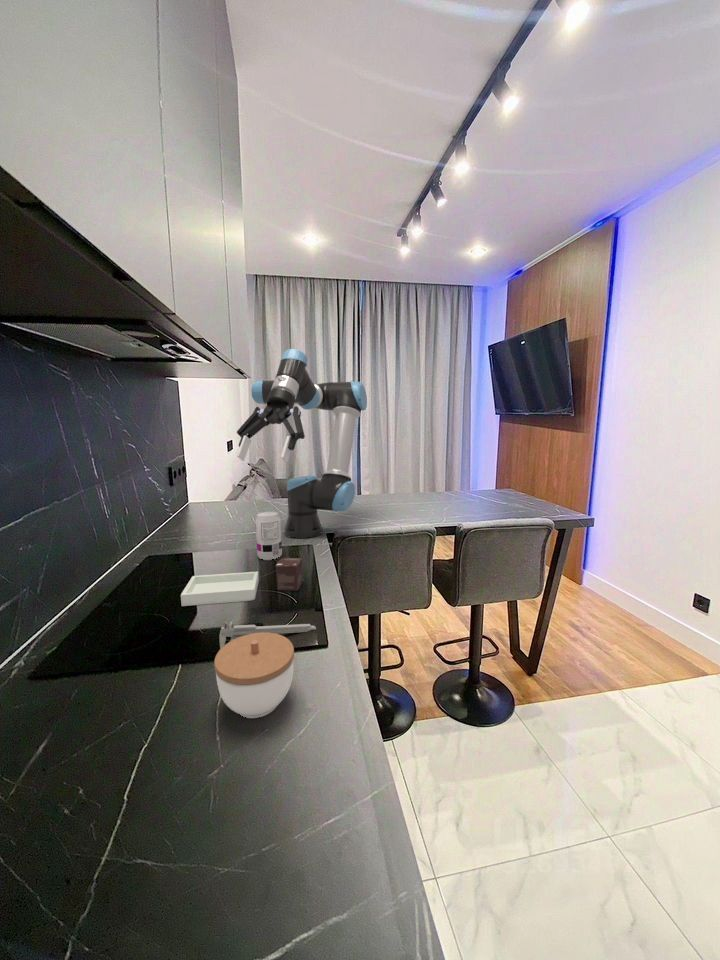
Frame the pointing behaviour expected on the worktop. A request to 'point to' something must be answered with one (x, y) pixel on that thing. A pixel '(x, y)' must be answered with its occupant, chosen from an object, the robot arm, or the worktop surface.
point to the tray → (220, 588)
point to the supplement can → (268, 535)
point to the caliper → (259, 630)
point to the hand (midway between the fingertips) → (261, 459)
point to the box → (289, 574)
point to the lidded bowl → (255, 673)
